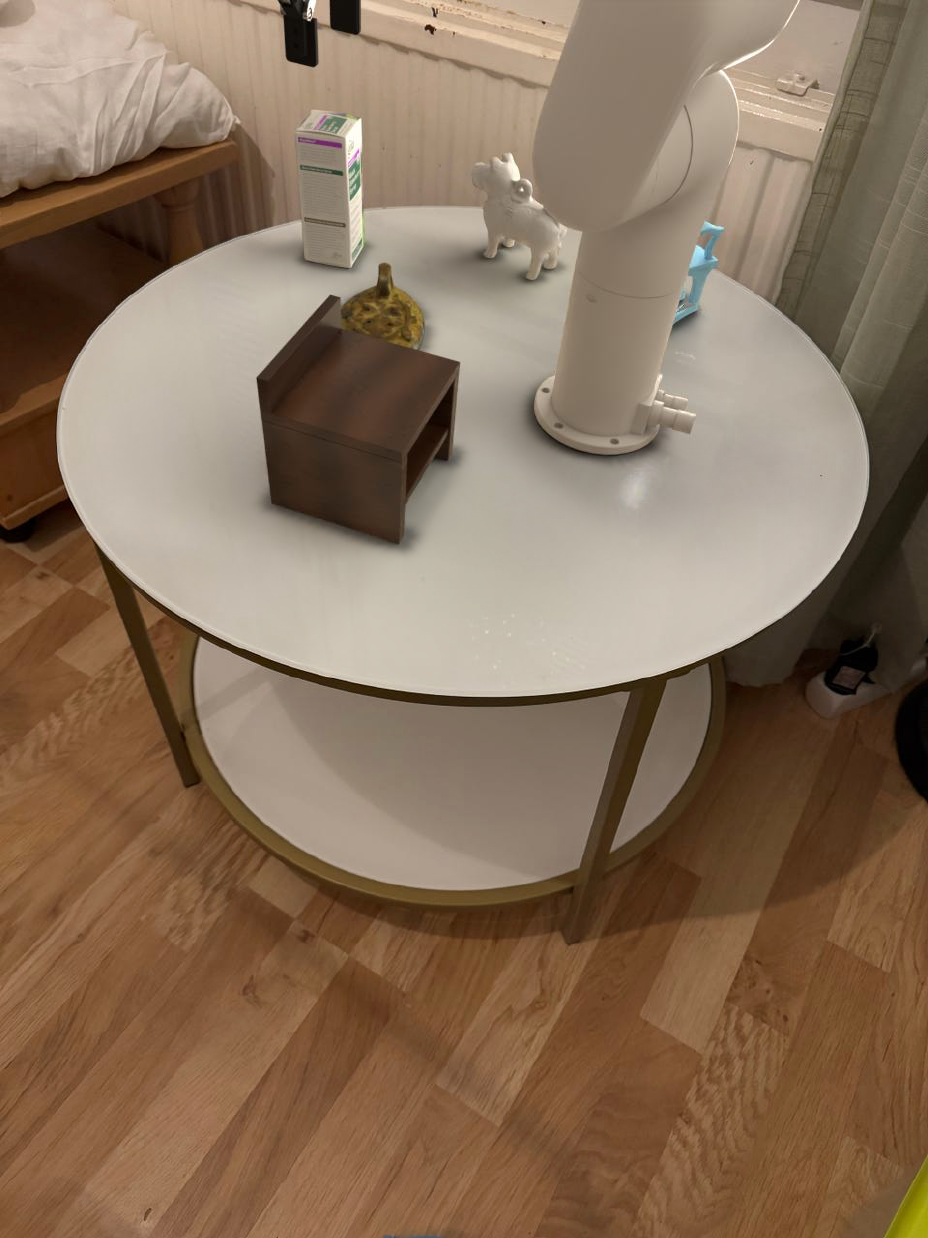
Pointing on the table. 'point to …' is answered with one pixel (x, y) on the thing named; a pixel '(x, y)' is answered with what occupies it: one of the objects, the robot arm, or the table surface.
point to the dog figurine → (516, 214)
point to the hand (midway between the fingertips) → (324, 46)
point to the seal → (385, 313)
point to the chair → (700, 268)
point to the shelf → (353, 423)
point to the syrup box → (330, 187)
